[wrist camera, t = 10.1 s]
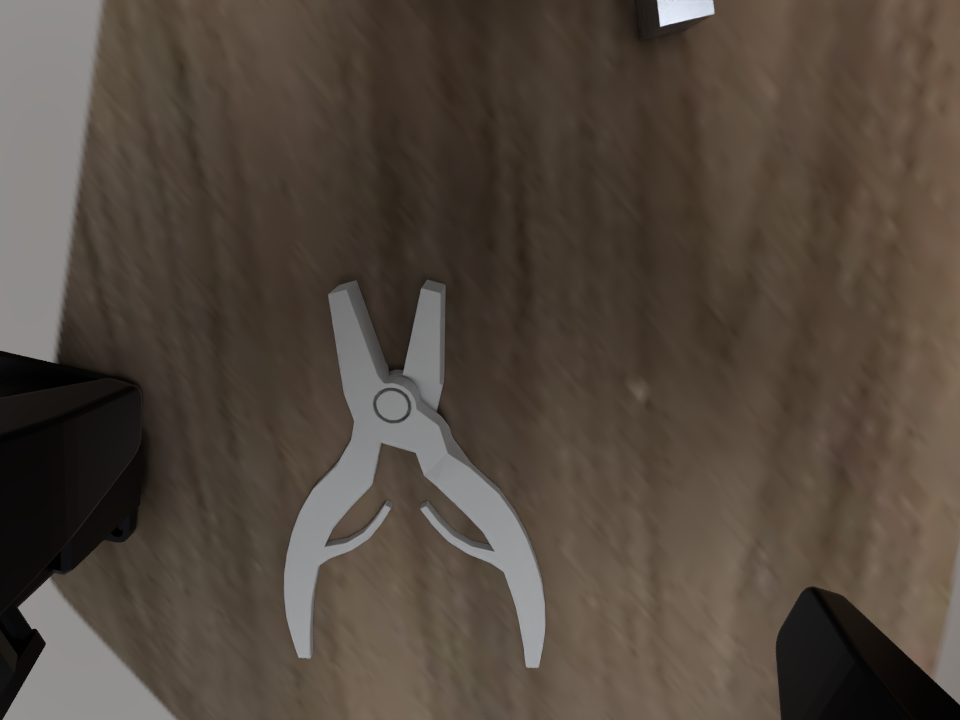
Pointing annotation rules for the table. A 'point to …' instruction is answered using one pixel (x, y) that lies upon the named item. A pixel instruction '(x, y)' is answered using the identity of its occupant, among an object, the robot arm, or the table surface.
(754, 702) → the table surface
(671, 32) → the v block
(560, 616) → the table surface
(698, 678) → the table surface
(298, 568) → the pliers
